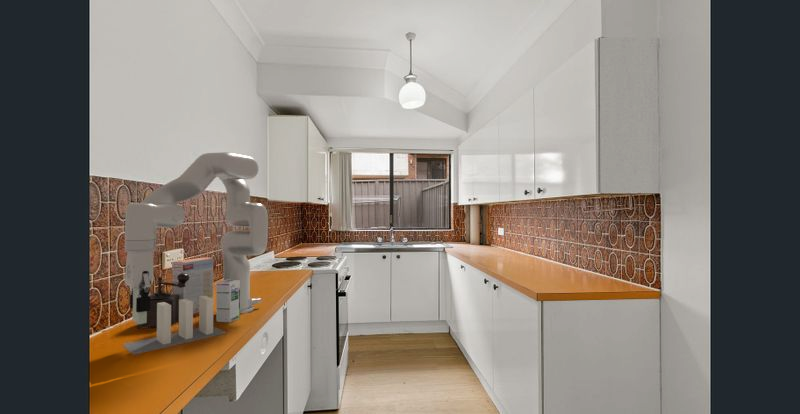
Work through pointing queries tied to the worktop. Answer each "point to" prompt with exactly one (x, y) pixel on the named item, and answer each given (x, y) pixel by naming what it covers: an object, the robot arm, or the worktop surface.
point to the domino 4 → (206, 315)
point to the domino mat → (175, 340)
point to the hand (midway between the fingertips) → (139, 308)
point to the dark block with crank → (164, 297)
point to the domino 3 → (186, 318)
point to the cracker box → (194, 280)
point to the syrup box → (228, 300)
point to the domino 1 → (138, 316)
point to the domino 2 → (164, 322)
